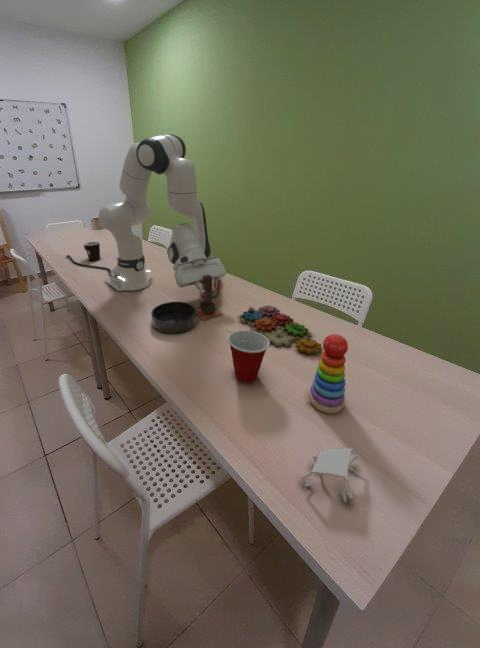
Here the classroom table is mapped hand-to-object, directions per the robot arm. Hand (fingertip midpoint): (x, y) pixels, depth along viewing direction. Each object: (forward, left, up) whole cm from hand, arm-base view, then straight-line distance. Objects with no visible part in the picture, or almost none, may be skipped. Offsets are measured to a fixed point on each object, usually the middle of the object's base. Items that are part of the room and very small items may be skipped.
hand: (208, 292), depth 112 cm
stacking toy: (+50, -17, -9) cm, 54 cm away
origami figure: (+58, -35, -9) cm, 69 cm away
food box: (-15, +21, -9) cm, 27 cm away
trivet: (-1, 0, -9) cm, 9 cm away
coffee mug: (-98, +10, -9) cm, 99 cm away
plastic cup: (+30, -21, -9) cm, 38 cm away
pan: (-6, -13, -9) cm, 17 cm away
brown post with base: (0, 0, -8) cm, 8 cm away
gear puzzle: (+27, +5, -9) cm, 29 cm away
